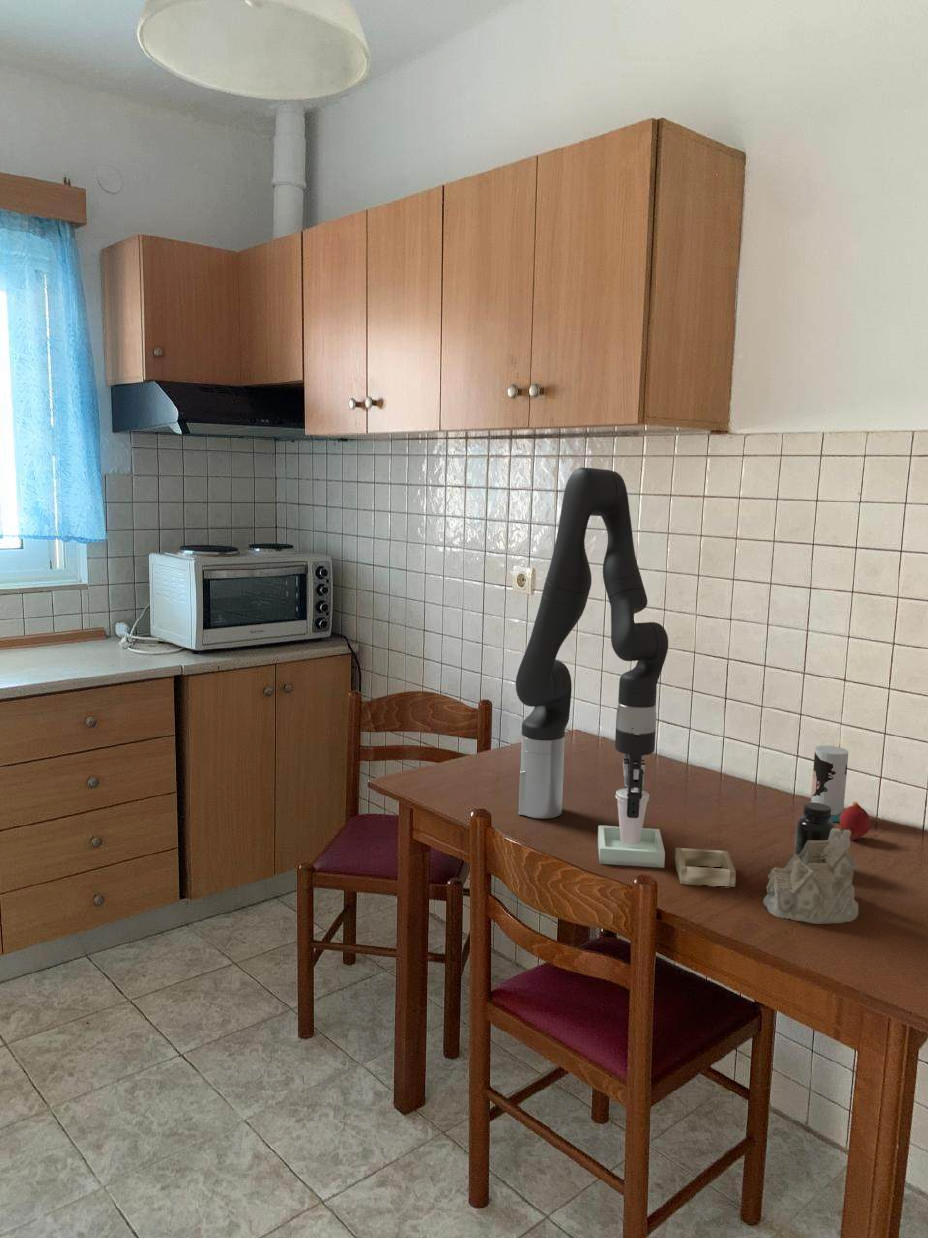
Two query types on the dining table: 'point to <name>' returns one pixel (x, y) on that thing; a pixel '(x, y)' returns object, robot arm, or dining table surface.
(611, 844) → the tray
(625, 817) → the smoothie
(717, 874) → the rectangular wooden frame
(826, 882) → the ceramic cottage
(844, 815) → the onion
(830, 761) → the cup
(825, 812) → the supplement bottle
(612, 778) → the dining table surface
